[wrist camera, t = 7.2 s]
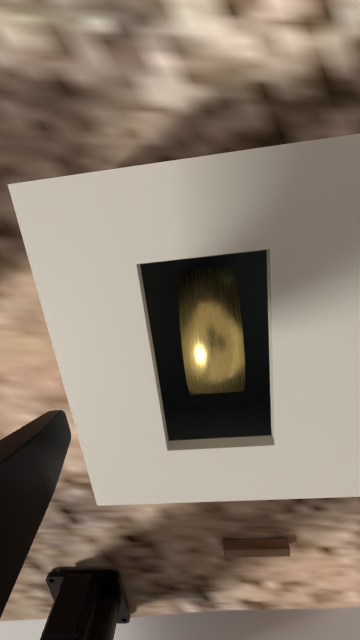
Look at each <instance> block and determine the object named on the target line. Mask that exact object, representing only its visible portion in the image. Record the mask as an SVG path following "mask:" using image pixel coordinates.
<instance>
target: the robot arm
mask: <svg viewBox="0 0 360 640" xmlns="http://www.w3.org/2000/svg"><path fill="white" fill-rule="evenodd" d="M70 441H71V431H70V428H69V424H68V421H67V417H66V414H65V412H64V411H62V410H54V411H48V412H47V413H45V414H43V415H41V416H40V417H38V418H36V419H35V420H33V421H31V422H30V423H28V424H26V425H25V426H23V427H21V428H20V429H18V430H16V431H15V432H13V433H11V434H10V435H8V436H6V437H5V438H3V439H1V440H0V617H1V615H2V613H3V610H4V608H5V606H6V603H7V601H8V599H9V596H10V594H11V592H12V589H13V587H14V585H15V582H16V580H17V578H18V575H19V573H20V571H21V568H22V566H23V564H24V561H25V559H26V557H27V554H28V552H29V550H30V547H31V545H32V543H33V540H34V538H35V536H36V533H37V531H38V529H39V526H40V524H41V522H42V519H43V517H44V515H45V512H46V510H47V508H48V505H49V503H50V501H51V498H52V496H53V493H54V491H55V488H56V485H57V482H58V479H59V476H60V473H61V470H62V466H63V463H64V460H65V457H66V454H67V450H68V447H69V444H70ZM46 582H47V584H48V587H49V589H50V592H51V594H52V597H53V599H54V603H53V606H52V608H51V611H50V614H49V616H48V619H47V622H46V624H45V628H44V630H43V632H42V636H41V638H40V640H113V638H114V633H115V628H116V624H117V623H128V622H129V619H130V612H129V608H128V604H127V601H126V597H125V594H124V590H123V586H122V583H121V579H120V575H119V573H117V572H115V571H81V572H50V573H49V574H48V576H47V578H46Z"/></svg>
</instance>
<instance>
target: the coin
mask: <svg viewBox="0 0 360 640" xmlns="http://www.w3.org/2000/svg"><path fill="white" fill-rule="evenodd" d="M178 302H179V320H180V332H181V343H182V352H183V360H184V368H185V374H186V380H187V385H188V389H189V393H190V394H191V395H195V394H210V393H225V392H239V391H244V388H245V355H244V340H243V329H242V319H241V310H240V302H239V295H238V288H237V283H236V278H235V273H234V269H233V267H232V265H225V266H216V267H207V268H197V269H188V270H180V271H179V276H178Z"/></svg>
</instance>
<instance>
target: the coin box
mask: <svg viewBox="0 0 360 640" xmlns="http://www.w3.org/2000/svg"><path fill="white" fill-rule="evenodd" d="M8 188H9V191H10V195H11V198H12V202H13V206H14V209H15V213H16V216H17V220H18V224H19V227H20V231H21V234H22V238H23V241H24V245H25V249H26V252H27V256H28V259H29V263H30V266H31V270H32V274H33V277H34V281H35V284H36V288H37V291H38V295H39V299H40V302H41V306H42V309H43V313H44V317H45V320H46V324H47V327H48V331H49V334H50V338H51V342H52V345H53V349H54V352H55V356H56V359H57V363H58V367H59V370H60V374H61V377H62V381H63V384H64V388H65V392H66V395H67V399H68V402H69V406H70V410H71V413H72V417H73V420H74V424H75V427H76V431H77V435H78V438H79V442H80V445H81V449H82V452H83V456H84V460H85V463H86V467H87V470H88V474H89V477H90V481H91V485H92V488H93V492H94V495H95V499H96V503H97V506H101V505H130V504H160V503H189V502H218V501H247V500H277V499H306V498H335V497H360V133H358V134H351V135H344V136H337V137H330V138H324V139H317V140H310V141H303V142H296V143H289V144H282V145H275V146H269V147H262V148H255V149H248V150H241V151H234V152H227V153H220V154H213V155H207V156H200V157H193V158H186V159H179V160H172V161H165V162H158V163H152V164H145V165H138V166H131V167H124V168H117V169H110V170H103V171H96V172H90V173H83V174H76V175H69V176H62V177H55V178H48V179H41V180H34V181H28V182H21V183H14V184H8ZM225 265H232V267H233V269H234V273H235V278H236V283H237V288H238V295H239V302H240V310H241V319H242V329H243V340H244V355H245V388H244V391H239V392H225V393H210V394H195V395H191V394H190V393H189V389H188V385H187V380H186V374H185V368H184V360H183V352H182V343H181V332H180V320H179V302H178V276H179V271H180V270H188V269H197V268H207V267H216V266H225Z"/></svg>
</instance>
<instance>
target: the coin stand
mask: <svg viewBox="0 0 360 640" xmlns="http://www.w3.org/2000/svg"><path fill="white" fill-rule="evenodd" d="M223 543H224V555H225V557H267V556H290V548H289V544H288V540H287V538H280V539H235V540H223Z"/></svg>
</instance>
